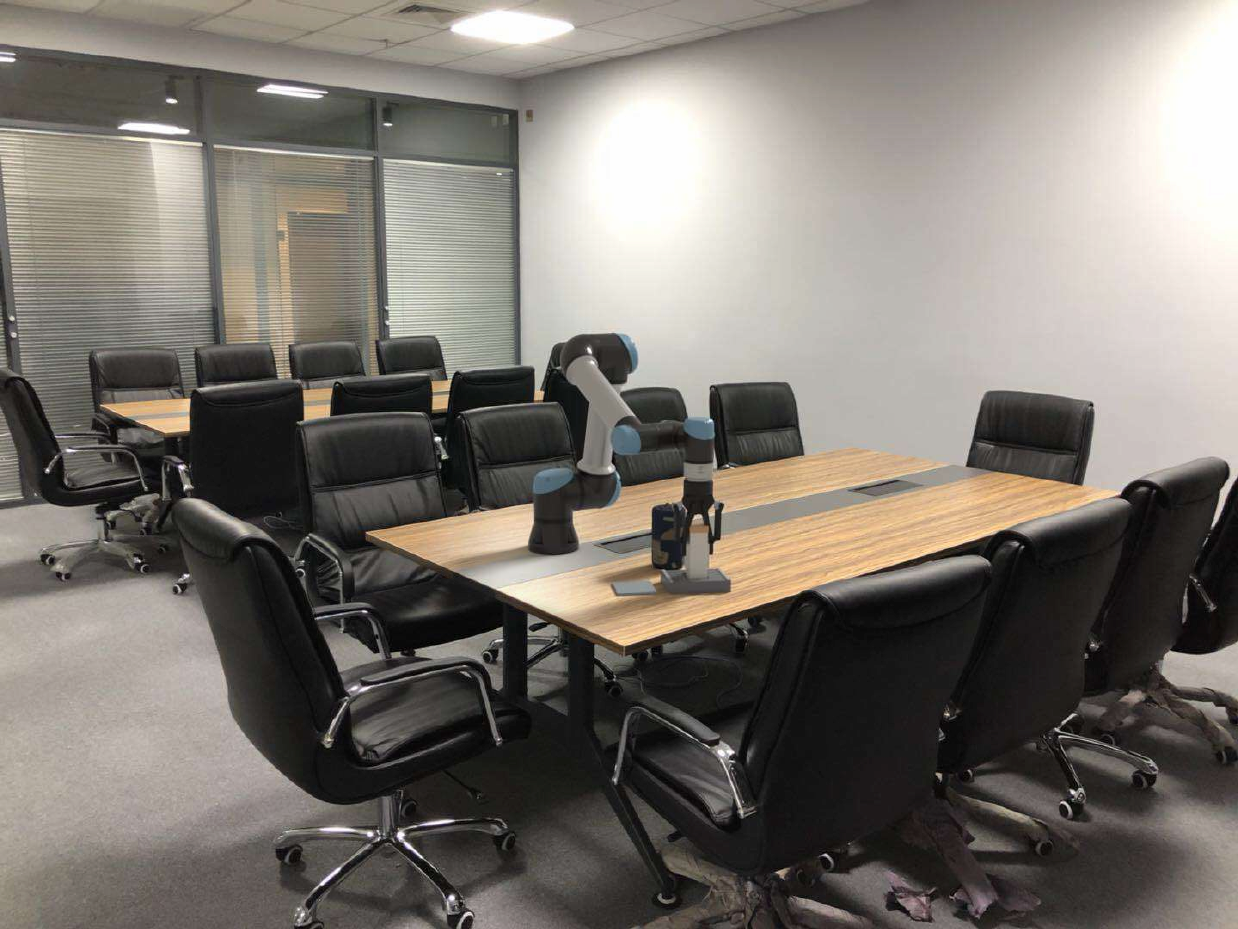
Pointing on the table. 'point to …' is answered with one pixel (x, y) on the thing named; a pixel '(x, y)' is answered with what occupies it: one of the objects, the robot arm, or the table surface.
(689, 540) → the plug
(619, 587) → the pad
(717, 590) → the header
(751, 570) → the table surface
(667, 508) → the canister
